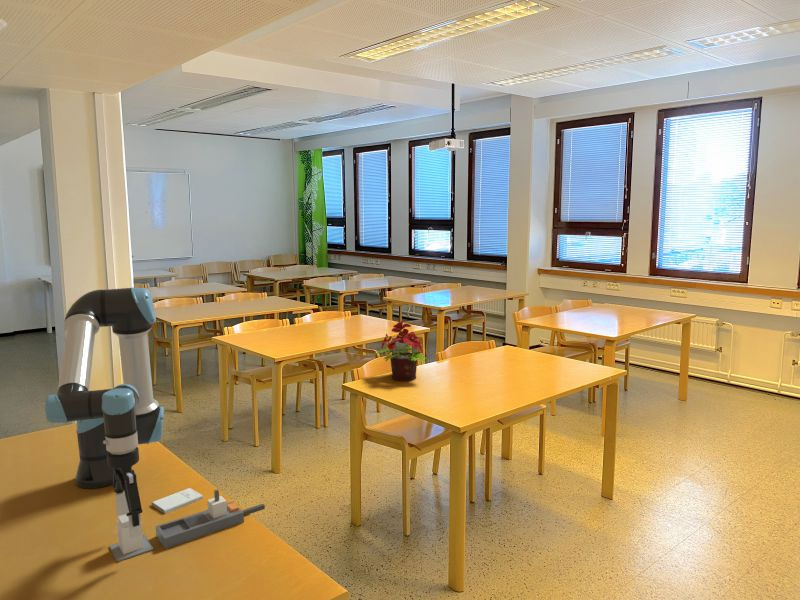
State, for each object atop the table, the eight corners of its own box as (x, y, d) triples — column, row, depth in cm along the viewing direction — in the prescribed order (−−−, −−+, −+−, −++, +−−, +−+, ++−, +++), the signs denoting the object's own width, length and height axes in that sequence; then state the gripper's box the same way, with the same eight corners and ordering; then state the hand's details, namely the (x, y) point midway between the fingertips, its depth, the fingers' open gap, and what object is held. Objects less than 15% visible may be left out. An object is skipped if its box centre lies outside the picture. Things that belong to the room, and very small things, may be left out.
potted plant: (429, 371, 327) (428, 316, 323) (426, 386, 301) (426, 327, 296) (374, 370, 330) (373, 316, 325) (367, 385, 304) (366, 326, 299)
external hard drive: (151, 506, 185) (189, 491, 194) (165, 515, 180) (203, 499, 189) (151, 501, 185) (189, 487, 194) (164, 510, 179) (202, 494, 188)
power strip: (165, 549, 161) (162, 513, 159) (156, 536, 167) (153, 502, 166) (269, 513, 179) (268, 481, 177) (258, 503, 185) (256, 472, 184)
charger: (118, 546, 162) (116, 516, 161) (138, 539, 165) (136, 510, 164) (123, 554, 158) (120, 524, 157) (144, 547, 161) (141, 517, 160)
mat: (109, 546, 162) (109, 545, 162) (144, 535, 168) (144, 534, 168) (117, 562, 155) (117, 560, 155) (153, 549, 161) (153, 548, 161)
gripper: (96, 438, 165) (103, 511, 168) (118, 469, 145) (126, 551, 149) (125, 431, 169) (132, 503, 173) (151, 460, 150) (157, 540, 153)
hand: (129, 525), depth 161 cm, fingers open, 13 cm apart
